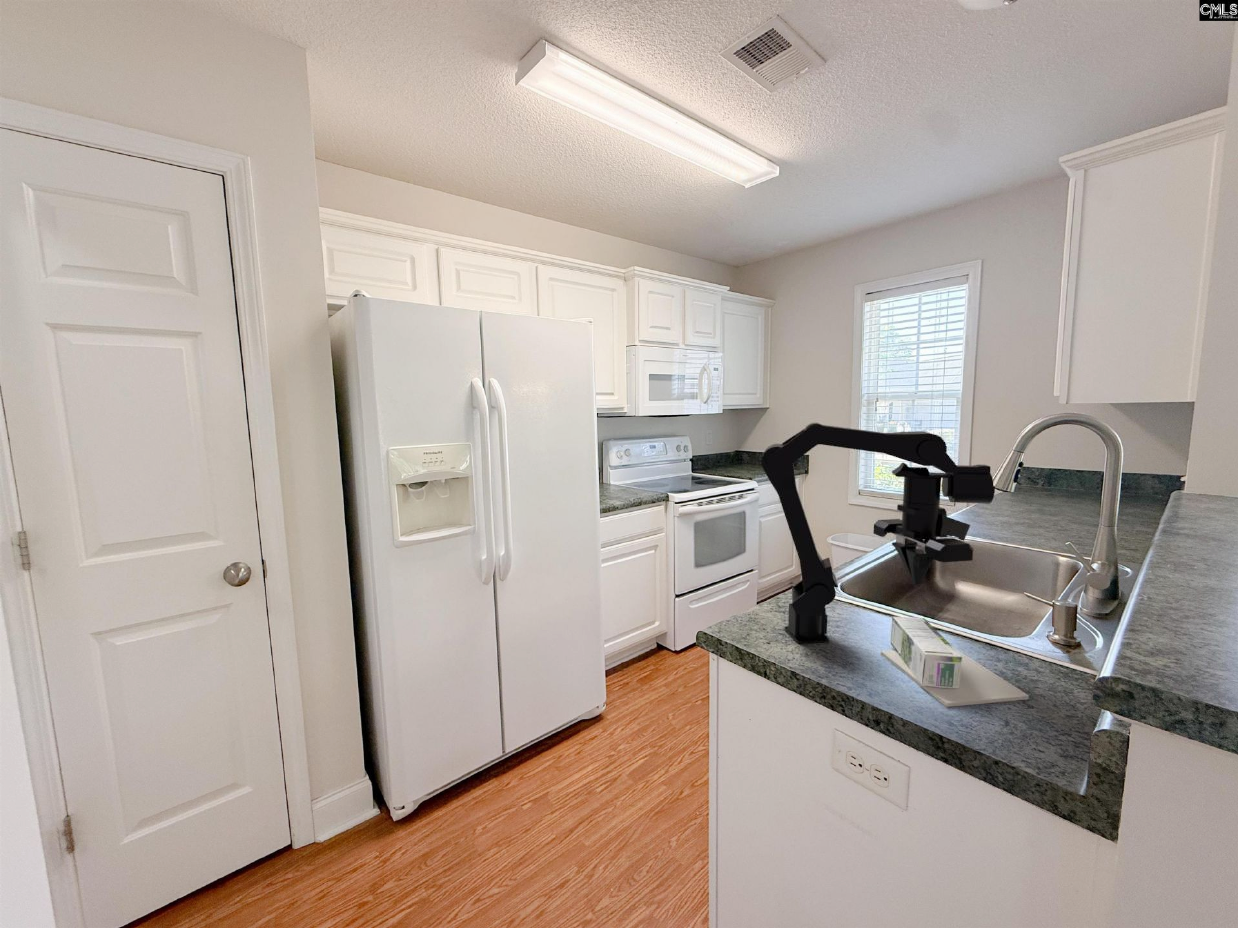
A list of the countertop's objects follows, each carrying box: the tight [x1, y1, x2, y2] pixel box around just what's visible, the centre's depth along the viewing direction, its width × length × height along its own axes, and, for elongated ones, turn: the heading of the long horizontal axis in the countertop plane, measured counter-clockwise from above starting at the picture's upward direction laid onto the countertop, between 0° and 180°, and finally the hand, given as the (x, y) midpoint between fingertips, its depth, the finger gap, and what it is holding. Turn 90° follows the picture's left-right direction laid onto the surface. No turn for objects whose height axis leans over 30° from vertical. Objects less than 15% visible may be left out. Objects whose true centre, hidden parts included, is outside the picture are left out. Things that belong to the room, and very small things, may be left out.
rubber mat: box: [880, 649, 1030, 708], centre depth 85 cm, size 14×16×1 cm
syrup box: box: [890, 616, 962, 688], centre depth 87 cm, size 6×6×14 cm
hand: (916, 583), depth 92 cm, fingers closed
